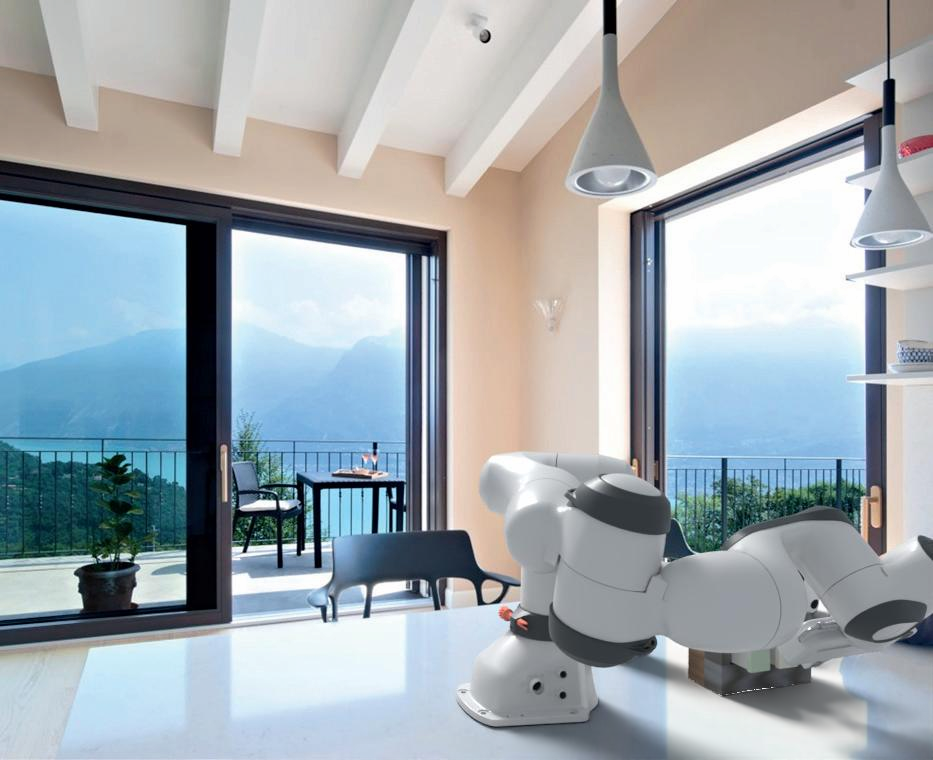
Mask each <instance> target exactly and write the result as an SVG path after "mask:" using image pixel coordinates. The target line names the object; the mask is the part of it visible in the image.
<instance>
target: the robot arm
mask: <svg viewBox="0 0 933 760" xmlns="http://www.w3.org/2000/svg"><path fill="white" fill-rule="evenodd" d="M478 493H479V496H480V498H481V501H482V503H483V504H484V506H485V508H486V509H487V510H488V511H489V512H490V513H493V514H497V515H499V516H503V517H504V520H503V536H504V542H505V546H506V549H507V552H508V553H509V555H510V556H511V558H512V559H513V560H514V562H515V563H516V564H517V565H519V567H521V568H520V571H521V572H520V600H519V604H518V605H517V607H516V609H514V611H513V609H511V608H509V607H508V606H506V605H502V606H501V607H500V608H499V609H498V612H497V613H498V616H499V618H500V619H502V620H503V621H505V622H509V629H508V630H506V631H505V632H504V633H503V634H501V635H500V637H498V638H497V639H495V641H494V642H492V643H491V644H490V645H488V646H487V647H486V648H485V649H484V650H482V651H481V652H480V653H478V655H477V656H476V658H475V659H474V662H473V663H474V664H473V667H472V672H471V677H470V682H466V683H462V684H459V685H458V686H457V688H456V695H455V696H456V700H457V703H458V704H459V705H460V707H461V709H463V710H464V712H466V714H468V715H469V716H470V717H472V718H473V719H474V720H476V721H477V722H480V723H482V724H485V725H487V726H492V727H511V726H526V725H527V726H529V725H546V724H561V723H562V724H564V723H581V722H582V723H583V722H587V721H588V720H589V719H590V713H591V711H592V710H594V708H596V706H598V703H599V697H598V695H597V694H598V693H597V691H596V686H595V682H594V678H593V676H594V674H593V669H592V667H594V668H601V669H603V668H604V669H605V668H606V669H607V668H612V667H618V666H621V665H624V664H627V663H630V662H632V661H633V660H635V659H636V658H638V657H646V656H648V655H650V654H652V653H653V652H654V650H655V649H656V648H657V646H658V640H657V637H656V636H663V637H665V638H668V639H669V640H671V641H673V642H674V643H676V644H678V645H679V646H681V647H684V648H687V649H689V648H691V649H696V650H701V651H708V652H716V653H746V652H757V651H764V650H768V649H772V648H775V647H777V649H778V651H779V652H780V654H781V656H782V657H783V659H784V660H785V662H786V663H787V664H788V665H789V666H795V665H800V664H801V665H802V666H803V668H805V669H807V668H811V669H813V668H817V667H820V666H822V665H823V664H824V663H826V662H829V661H831V660H835V659H840V658H847V657H853V656H857V655H858V656H859V655H863V654H869V653H877V652H881V651H884V650H885V649H886V648H887V647H889V646H891V645H893V644H895V642H898V641H901V640H905V639H908V638H911V637H912V636H913V635H915V634H916V633H917V632H918V629H917V628H916V627H918V626H920V625H921V624H922V623H923V621H924V620H925V619H927V618H928V617H929V616H931V615H932V614H933V538H931V537H928V536H925V535H922V534H917V535H915V536H912V537H911V538H908V539H907V540H905V541H903V542H902V543H900V544H899V545H897V546H895V547H894V548H892V549H891V550H890V551H888V552H887V553H886V554H884V555H883V556H881V558H880V556H879V555H878V554H877V552H875V551H874V549H873V548H872V547H871V545H870V544H869V543H868V542H867V540H866V539H864V537H863V536H862V535H861V534H860V532H859V531H858V529H857V527H856V526H855V524H854V523H853V522H852V520H851V519H850V518H849V516H848V515H847V513H846V512H845V511H844V510H843V509H840V508H836V507H832V506H827V505H814V506H811V507H809V508H806V509H804V510H802V511H799V512H797V513H794V514H791V515H786V516H782V517H777V518H774V519H769V520H765V521H761V522H757V523H753V524H751V525H748V526H745V527H743V528H741V529H739V530H738V531H736V532H735V533H733V534H732V535H731V536H730V537H729V538H728V539H727V540H725V542H723V544H722V546H721V547H720V550H716V551H715V550H714V551H706V552H702V553H701V552H700V553H695V554H692V555H691V554H690V555H687V556H683V557H681V558H677V559H675V560H672V561H670V562H668V561H664V560H663V558H664V553H665V548H666V547H665V546H666V540H667V539H666V538H667V534H668V533H670V531H671V524H672V523H671V521H672V506H671V502H670V500H669V499H668V497H667V496H666V495H665V493H664V492H663V491H662V490H660V488H658V487H655V486H654V485H653V484H651V482H648V480H647V481H646V480H645V479H643V478H641V477H639V476H637V474H636V472H635V470H634V469H633V467H632V466H631V464H630V463H628V462H627V461H626V460H623V459H620V458H617V457H613V456H608V455H604V454H603V455H602V454H598V453H597V454H596V453H575V452H548V451H547V452H545V451H543V452H542V451H522V450H521V451H512V452H511V451H510V452H504V453H499V454H498V453H497V454H493V455H492V456H490V457H489V458H488V459H487V461H486V462H485V463H484V464H483V466H482V467H481V471H480V473H479V476H478ZM795 566H796V567H795ZM797 569H798V570H799V572H800V573H801V574H802V576H803V577H804V579H805V580H806V581H807V583H808V584H809V585H810V587H811V588H812V590H813V591H814V592H815V594H816V595H817V596H818V598H819V602H821V604H822V605H823V607H824V608H825V610H826V611H827V612H828V613H829V615H830V616H826V617H820V618H813V619H812V618H811V620H808V621H806V622H804V619H805V616H806V612H807V604H808V599H807V591H806V587H805V584H804V581H803V579H802V577H801V575H800V573H799V572H798V570H797ZM803 622H804V623H803Z"/></svg>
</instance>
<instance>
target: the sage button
mask: <svg viewBox="0 0 933 760" xmlns="http://www.w3.org/2000/svg"><path fill="white" fill-rule="evenodd" d="M730 662H732V663H735V664H737V665H739V666H741V667H743V668H745V669H747V671H748V672H750V673H755V672H762V671H769V670H770V649H768V650H764V651H757V652H746V653H730Z"/></svg>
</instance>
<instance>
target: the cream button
mask: <svg viewBox="0 0 933 760" xmlns="http://www.w3.org/2000/svg"><path fill="white" fill-rule="evenodd" d="M770 663H771V664H773V665H775V667H776V668H778V669H783V668H790V667H797V666H798V665H795V666H789V665H788V664H787V663H786V662H785V660H784V659H783V657H782V656H781V654H780V652H779V651H778V649H777V647H775V648H772V649H770Z"/></svg>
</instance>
